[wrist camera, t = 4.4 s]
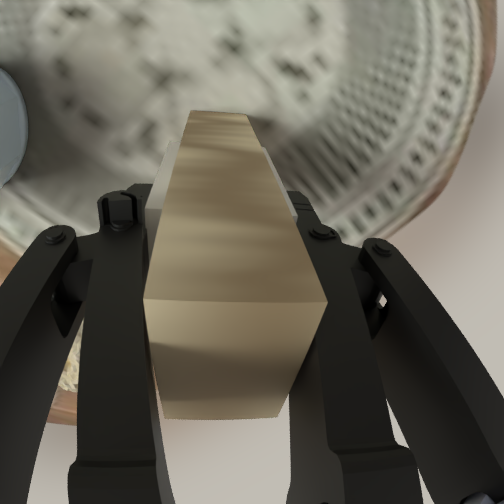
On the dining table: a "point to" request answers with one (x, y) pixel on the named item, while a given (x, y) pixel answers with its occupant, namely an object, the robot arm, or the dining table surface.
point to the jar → (11, 127)
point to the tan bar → (227, 280)
